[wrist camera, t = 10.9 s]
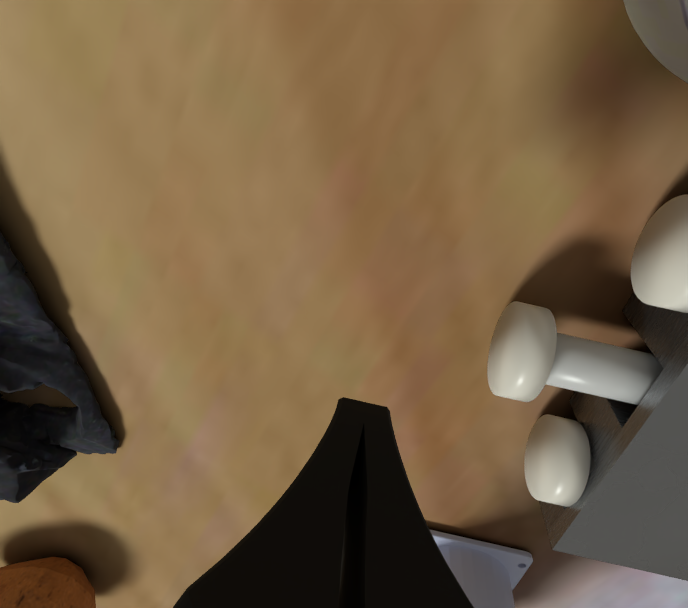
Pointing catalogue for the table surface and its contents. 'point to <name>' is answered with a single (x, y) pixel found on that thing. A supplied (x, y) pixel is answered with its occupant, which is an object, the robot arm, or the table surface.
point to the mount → (635, 463)
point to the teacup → (663, 31)
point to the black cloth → (28, 373)
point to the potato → (45, 585)
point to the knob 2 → (663, 258)
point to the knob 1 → (557, 460)
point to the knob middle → (562, 360)
